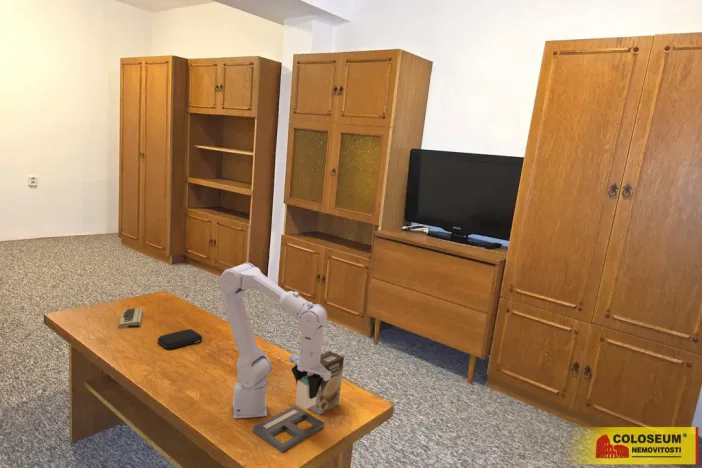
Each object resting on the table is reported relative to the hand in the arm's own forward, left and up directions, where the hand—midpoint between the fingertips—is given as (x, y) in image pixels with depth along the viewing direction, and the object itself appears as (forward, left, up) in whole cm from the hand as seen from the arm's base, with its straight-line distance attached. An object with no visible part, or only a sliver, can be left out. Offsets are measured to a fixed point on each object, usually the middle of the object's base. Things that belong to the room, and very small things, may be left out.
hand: (306, 394), depth 130 cm
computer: (-58, +81, -11) cm, 101 cm away
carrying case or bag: (-37, +59, -11) cm, 71 cm away
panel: (-4, -1, -10) cm, 11 cm away
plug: (0, 0, -3) cm, 3 cm away
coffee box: (+8, +10, -11) cm, 17 cm away
